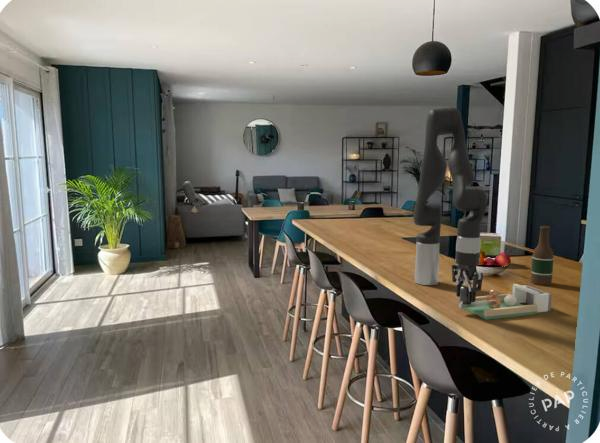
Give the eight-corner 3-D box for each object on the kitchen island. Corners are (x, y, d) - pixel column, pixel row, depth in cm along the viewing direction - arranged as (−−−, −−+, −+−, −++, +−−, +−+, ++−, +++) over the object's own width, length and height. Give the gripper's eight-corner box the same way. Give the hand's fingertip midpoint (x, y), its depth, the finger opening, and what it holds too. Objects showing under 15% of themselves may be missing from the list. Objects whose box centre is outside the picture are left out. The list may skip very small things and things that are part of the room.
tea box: (467, 265, 229) (468, 234, 227) (463, 260, 239) (464, 231, 236) (499, 266, 226) (501, 235, 224) (494, 261, 236) (496, 232, 234)
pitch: (460, 306, 166) (460, 298, 165) (508, 301, 171) (508, 293, 171) (485, 319, 152) (486, 310, 152) (537, 314, 158) (537, 305, 157)
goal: (511, 302, 170) (513, 283, 169) (526, 301, 172) (527, 282, 171) (535, 312, 159) (536, 292, 158) (550, 311, 161) (552, 291, 160)
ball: (501, 304, 164) (502, 293, 164) (511, 303, 165) (511, 292, 165) (509, 308, 160) (510, 297, 160) (519, 307, 161) (519, 296, 161)
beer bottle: (526, 282, 197) (530, 225, 194) (540, 280, 200) (544, 224, 197) (541, 286, 190) (545, 228, 187) (556, 284, 193) (560, 227, 190)
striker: (455, 307, 160) (456, 285, 159) (491, 303, 164) (492, 282, 163) (464, 311, 155) (465, 289, 154) (501, 308, 159) (502, 285, 158)
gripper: (445, 246, 161) (443, 294, 163) (471, 254, 147) (468, 306, 150) (464, 245, 163) (462, 292, 165) (491, 253, 149) (489, 304, 152)
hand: (465, 299), depth 157 cm, fingers open, 6 cm apart
